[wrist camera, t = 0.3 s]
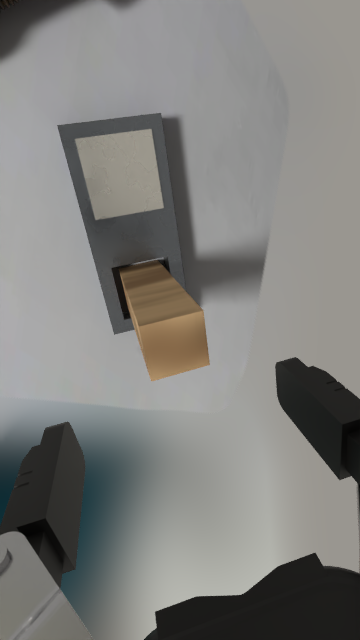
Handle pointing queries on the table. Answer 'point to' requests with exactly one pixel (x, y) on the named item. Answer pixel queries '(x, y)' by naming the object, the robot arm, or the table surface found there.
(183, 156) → the table surface
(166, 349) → the wooden peg
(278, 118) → the table surface
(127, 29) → the table surface
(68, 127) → the socket plate
